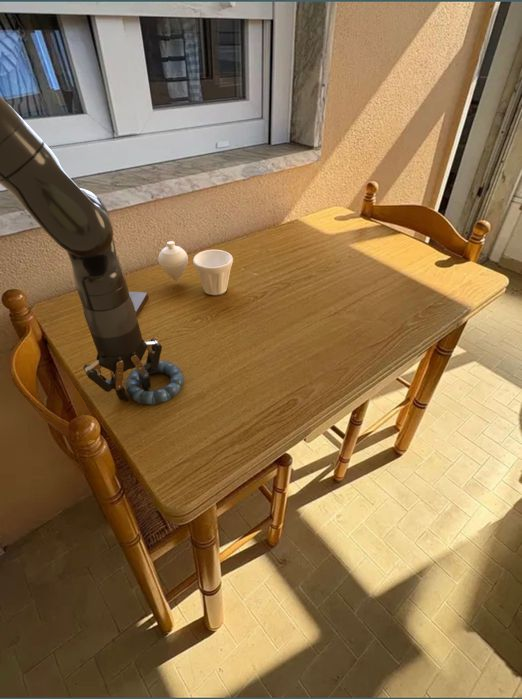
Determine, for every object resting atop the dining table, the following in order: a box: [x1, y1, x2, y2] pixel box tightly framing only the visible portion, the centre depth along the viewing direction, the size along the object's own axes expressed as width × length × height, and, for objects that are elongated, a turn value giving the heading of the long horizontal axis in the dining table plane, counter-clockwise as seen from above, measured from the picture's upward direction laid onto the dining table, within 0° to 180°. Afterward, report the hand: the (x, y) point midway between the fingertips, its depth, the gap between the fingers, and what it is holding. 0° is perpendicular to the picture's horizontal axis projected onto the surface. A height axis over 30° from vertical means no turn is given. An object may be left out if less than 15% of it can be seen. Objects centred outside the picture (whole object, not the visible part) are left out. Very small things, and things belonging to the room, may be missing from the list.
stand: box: [117, 255, 149, 317], centre depth 91 cm, size 9×9×14 cm
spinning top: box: [157, 240, 189, 285], centre depth 100 cm, size 8×8×12 cm
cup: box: [192, 249, 234, 297], centre depth 99 cm, size 10×10×9 cm
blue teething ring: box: [125, 360, 185, 406], centre depth 74 cm, size 11×11×2 cm
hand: (135, 393), depth 73 cm, fingers open, 3 cm apart
